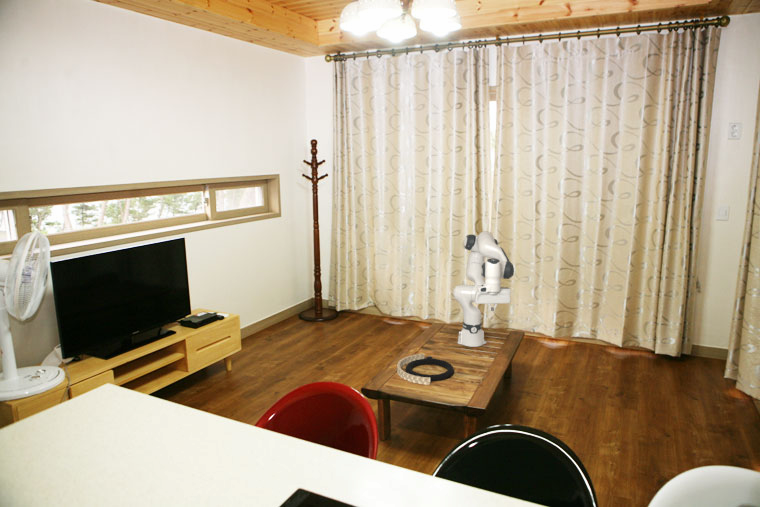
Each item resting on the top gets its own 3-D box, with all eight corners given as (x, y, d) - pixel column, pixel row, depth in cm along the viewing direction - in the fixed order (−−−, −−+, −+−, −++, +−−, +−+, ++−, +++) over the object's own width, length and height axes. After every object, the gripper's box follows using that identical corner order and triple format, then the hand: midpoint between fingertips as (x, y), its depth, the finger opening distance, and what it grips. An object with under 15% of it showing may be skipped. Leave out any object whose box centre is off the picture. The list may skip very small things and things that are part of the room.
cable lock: (404, 375, 282) (406, 355, 312) (404, 382, 283) (406, 361, 312) (455, 376, 280) (452, 356, 309) (455, 383, 280) (452, 362, 310)
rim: (395, 359, 314) (395, 354, 314) (424, 359, 315) (424, 353, 314) (398, 385, 278) (398, 379, 277) (430, 384, 278) (430, 378, 277)
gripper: (509, 285, 298) (508, 308, 300) (474, 286, 298) (473, 309, 300) (512, 288, 292) (511, 312, 294) (475, 289, 292) (475, 312, 294)
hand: (492, 310), depth 297 cm, fingers closed
